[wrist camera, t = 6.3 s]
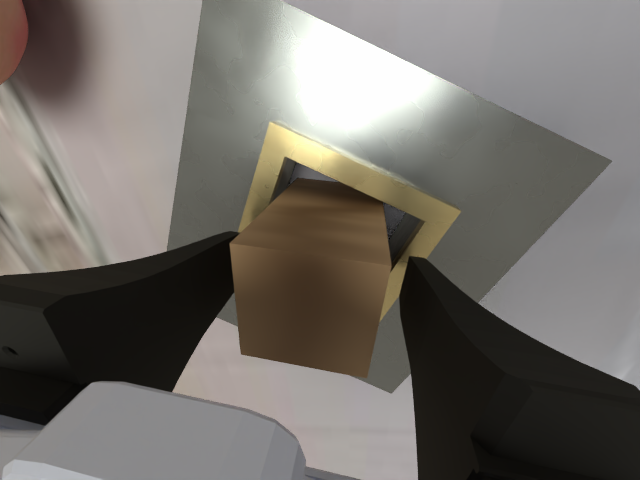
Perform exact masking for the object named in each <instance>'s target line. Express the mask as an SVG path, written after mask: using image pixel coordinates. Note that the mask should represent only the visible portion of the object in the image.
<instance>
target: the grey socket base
mask: <svg viewBox="0 0 640 480" xmlns="http://www.w3.org/2000/svg"><path fill="white" fill-rule="evenodd" d="M296 162H298V163H300V164H303V165H305V166H307V167H309V168H311V169H313V170H316V171H318V172H320V173H322V174H324V175H326V176H329V177H331V178H333V179H335V180H337V181H339V182H341V183H344V184H346V185H348V186H350V187H352V188H354V189H357V190H359V191H361V192H363V193H365V194H367V195H370V196H372V197H374V198H376V199H378V200H380V201H383V202H385V203H387V204H389V205H391V206H393V207H395V208H398V209H400V210H402V211H404V212H406V214H405V215H404V217H403V219H402V220H401V222H400V223H399V225H398V227H397V228H396V230H395V231H394V233H393V235H392V236H391V238H390V239H389V241H388V244H389V251H390V258H391V265H392V266H391V271H390V275H389V280H388V285H387V289H386V294H385V298H384V303H383V308H382V312H381V317H380V321H379V326H378V331H377V335H376V340H375V344H374V349H373V354H372V358H371V363H370V367H369V372H368V376H367V378H362V377H357V376H352V377H355V378H357V379H359V380H362V381H364V382H366V383H368V384H371V385H373V386H375V387H378V388H380V389H382V390H384V391H387V392H389V393H391V394H392V392H393V391H394V390H395V389H396V388H397V387H398V386H399V385H400V384H401V383H402V382H403V381H404V380H405V379H406V378H407V377H408V376H409V375H410V374H411V370H410V364H409V359H408V354H407V349H406V344H405V339H404V334H403V329H402V323H401V318H400V304H399V294H400V290H401V286H402V282H403V278H404V274H405V270H406V266H407V262H408V258H409V256H415V257H423V258H426V259H427V260H428V261H429V262H430V263H432V264H433V265H434V266H435V267H436V268H437V269H438V270H439V271H440V272H441V273H442V274H443V275H445V276H446V277H447V278H448V279H449V280H450V281H451V282H452V283H453V284H455V285H456V286H457V287H458V288H459V289H460V290H462V291H463V292H464V293H465V294H467V295H468V296H469V297H470V298H472V299H473V300H474V301H475V302H477V303H478V302H479V301H480V300H481V299H482V298H483V297H484V296H485V295H486V294H487V293H488V292H489V290H490V289H491V288H492V287H493V286H494V285H495V284H496V283H497V282H498V281H499V280H500V279H501V278H502V277H503V276H504V275H505V274H506V273H507V272H508V270H509V269H510V268H511V267H512V266H513V265H514V264H515V263H516V262H517V261H518V260H519V259H520V258H521V257H522V256H523V255H524V254H525V253H526V252H527V250H528V249H529V248H530V247H531V246H532V245H533V244H534V243H535V242H536V241H537V240H538V239H539V238H540V237H541V236H542V235H543V234H544V233H545V232H546V231H547V229H548V228H549V227H550V226H551V225H552V224H553V223H554V222H555V221H556V220H557V219H558V218H559V217H560V216H561V215H562V214H563V213H564V212H565V211H566V209H567V208H568V207H569V206H570V205H571V204H572V203H573V202H574V201H575V200H576V199H577V198H578V197H579V196H580V195H581V194H582V193H583V192H584V191H585V189H586V188H587V187H588V186H589V185H590V184H591V183H592V182H593V181H594V180H595V179H596V178H597V177H598V176H599V175H600V174H601V173H602V172H603V171H604V170H605V168H606V167H607V166H608V165H609V164H610V163H611V162H612V161H611V160H609V159H607V158H605V157H603V156H601V155H599V154H597V153H595V152H593V151H591V150H589V149H587V148H584V147H582V146H580V145H578V144H576V143H574V142H572V141H570V140H568V139H566V138H564V137H562V136H560V135H558V134H556V133H553V132H551V131H549V130H547V129H545V128H543V127H541V126H539V125H537V124H535V123H533V122H531V121H529V120H527V119H525V118H522V117H520V116H518V115H516V114H514V113H512V112H510V111H508V110H506V109H504V108H502V107H500V106H498V105H496V104H494V103H491V102H489V101H487V100H485V99H483V98H481V97H479V96H477V95H475V94H473V93H471V92H469V91H467V90H465V89H463V88H460V87H458V86H456V85H454V84H452V83H450V82H448V81H446V80H444V79H442V78H440V77H438V76H436V75H434V74H432V73H429V72H427V71H425V70H423V69H421V68H419V67H417V66H415V65H413V64H411V63H409V62H407V61H405V60H403V59H401V58H398V57H396V56H394V55H392V54H390V53H388V52H386V51H384V50H382V49H380V48H378V47H376V46H374V45H372V44H370V43H367V42H365V41H363V40H361V39H359V38H357V37H355V36H353V35H351V34H349V33H347V32H345V31H343V30H341V29H339V28H336V27H334V26H332V25H330V24H328V23H326V22H324V21H322V20H320V19H318V18H316V17H314V16H312V15H310V14H308V13H305V12H303V11H301V10H299V9H297V8H295V7H293V6H291V5H289V4H287V3H285V2H283V1H281V0H203V1H202V8H201V15H200V22H199V29H198V36H197V43H196V50H195V57H194V64H193V71H192V78H191V85H190V92H189V99H188V106H187V113H186V120H185V127H184V134H183V141H182V148H181V155H180V162H179V169H178V176H177V183H176V190H175V197H174V204H173V211H172V218H171V225H170V232H169V239H168V246H167V251H170V250H173V249H176V248H179V247H182V246H185V245H188V244H191V243H194V242H197V241H200V240H202V239H205V238H208V237H211V236H214V235H217V234H220V233H223V232H228V231H233V232H240V233H241V232H242V231H243V230H244V229H245V228H246V227H247V226H248V225H249V224H250V223H251V222H252V221H253V220H254V219H255V218H256V217H257V216H258V215H260V214H261V213H262V212H263V211H264V210H265V209H266V208H267V207H268V206H269V205H270V204H271V203H272V202H273V201H274V200H275V199H276V198H277V197H278V196H279V195H280V194H281V193H282V192H283V191H285V190H286V189H287V186H288V183H289V181H290V178H291V175H292V172H293V170H294V167H295V164H296ZM217 318H220V319H222V320H224V321H227V322H229V323H231V324H233V325H236V326H238V321H237V311H236V301H235V292H234V293H233V295H232V296H231V298H230V299H229V300H228V302H227V303H226V304H225V306H224V307H223V309H222V310H221V311H220V313H219V314H218V315H217ZM350 376H351V375H350Z"/></svg>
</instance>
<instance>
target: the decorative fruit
mask: <svg viewBox="0 0 640 480" xmlns="http://www.w3.org/2000/svg"><path fill="white" fill-rule="evenodd" d="M27 41H28V22H27V17H26V13H25V9H24V6H23V3H22V0H0V85H1V84H2V83H3V82H4V81H6V80H7V79H8V78H9V77H10V76H11V75H12V74H13V72H14V71H15V70H16V68H17V66H18V65H19V62H20V60H21V58H22V56H23V54H24V51H25V49H26V45H27Z"/></svg>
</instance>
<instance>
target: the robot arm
mask: <svg viewBox="0 0 640 480" xmlns="http://www.w3.org/2000/svg"><path fill="white" fill-rule="evenodd" d="M239 234H240V232H233V231H228V232H223V233H220V234H217V235H214V236H211V237H208V238H205V239H202V240H200V241H197V242H194V243H191V244H188V245H185V246H182V247H179V248H176V249H173V250H170V251H167V252H164V253H160V254H157V255H153V256H149V257H145V258H141V259H137V260H132V261H127V262H122V263H116V264H111V265H105V266H100V267H93V268H85V269H77V270H68V271H59V272H47V273H32V274H16V275H3V276H0V480H360V479H356V478H352V477H348V476H344V475H339V474H335V473H331V472H327V471H323V470H319V469H314V468H310V467H306V459H305V457H304V454H303V452H302V449H301V446H300V444H299V441H298V440H297V438H296V437H295V435H293V434H292V433H291V432H290V431H289V430H287V429H286V428H285V427H284V426H282V425H281V424H280V423H279V422H278V421H276V420H275V419H272V418H270V417H267V416H265V415H262V414H259V413H257V412H254V411H252V410H249V409H245V408H241V407H236V406H232V405H227V404H223V403H218V402H213V401H209V400H204V399H200V398H195V397H191V396H186V395H181V394H177V393H172V391H173V389H174V387H175V385H176V383H177V381H178V379H179V377H180V375H181V374H182V372H183V370H184V368H185V366H186V364H187V363H188V361H189V359H190V357H191V355H192V354H193V352H194V350H195V348H196V347H197V345H198V343H199V341H200V340H201V338H202V336H203V335H204V333H205V332H206V330H207V329H208V328H209V326H210V325H211V323H212V322H213V321H214V319H215V318H216V317H217V315H218V314H219V313H220V311H221V310H222V309H223V307H224V306H225V304H226V303H227V302H228V300H229V299H230V298H231V296H232V295H233V293H234V282H233V272H232V262H231V252H230V242H231V241H232V240H234V239H235V238H236V237H237V236H238V235H239ZM399 304H400V318H401V323H402V329H403V334H404V339H405V344H406V349H407V354H408V359H409V364H410V370H411V377H412V388H413V399H414V412H415V427H416V444H417V462H418V480H640V390H639V389H638V388H637V387H635V386H634V385H632V384H629V383H627V382H625V381H622V380H620V379H618V378H615V377H613V376H611V375H609V374H606V373H604V372H602V371H599V370H597V369H595V368H592V367H590V366H588V365H586V364H583V363H581V362H579V361H577V360H575V359H573V358H571V357H569V356H567V355H565V354H562V353H560V352H558V351H556V350H554V349H552V348H550V347H548V346H547V345H545V344H543V343H541V342H539V341H537V340H535V339H533V338H532V337H530V336H528V335H526V334H525V333H523V332H521V331H519V330H518V329H516V328H514V327H513V326H511V325H509V324H508V323H506V322H504V321H503V320H501V319H500V318H498V317H497V316H495V315H494V314H492V313H491V312H489V311H488V310H486V309H485V308H484V307H482V306H481V305H479V304H478V303H477V302H475V301H474V300H473V299H472V298H470V297H469V296H468V295H467V294H465V293H464V292H463V291H462V290H460V289H459V288H458V287H457V286H456V285H455V284H453V283H452V282H451V281H450V280H449V279H448V278H447V277H446V276H445V275H443V274H442V273H441V272H440V271H439V270H438V269H437V268H436V267H435V266H434V265H433V264H432V263H430V262H429V261H428V260H427V259H426V258H423V257H415V256H409V258H408V262H407V266H406V270H405V274H404V278H403V282H402V286H401V290H400V294H399Z"/></svg>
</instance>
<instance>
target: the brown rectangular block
mask: <svg viewBox="0 0 640 480" xmlns="http://www.w3.org/2000/svg"><path fill="white" fill-rule="evenodd" d="M230 252H231V262H232V272H233V282H234V292H235V301H236V311H237V321H238V331H239V341H240V350H241V354H242V355H247V356H252V357H258V358H263V359H268V360H273V361H278V362H284V363H289V364H294V365H299V366H304V367H310V368H315V369H320V370H325V371H331V372H336V373H341V374H346V375H351V376H357V377H362V378H367V376H368V372H369V367H370V363H371V358H372V354H373V349H374V344H375V340H376V335H377V331H378V326H379V321H380V317H381V312H382V308H383V303H384V298H385V294H386V289H387V285H388V280H389V275H390V271H391V266H392V265H391V258H390V251H389V244H388V236H387V229H386V222H385V215H384V207H383V201H380V200H378V199H376V198H374V197H372V196H370V195H367V194H365V193H363V192H361V191H359V190H357V189H354V188H352V187H350V186H348V185H346V184H344V183H341V182H331V181H322V180H312V179H303V178H297V179H296V180H295V181H294V182H293V183H292V184H291V185H290V186H289V187H288V188H287V189H286V190H285V191H283V192H282V193H281V194H280V195H279V196H278V197H277V198H276V199H275V200H274V201H273V202H272V203H271V204H270V205H269V206H268V207H267V208H266V209H265V210H264V211H263V212H262V213H261V214H260V215H258V216H257V217H256V218H255V219H254V220H253V221H252V222H251V223H250V224H249V225H248V226H247V227H246V228H245V229H244V230H243V231H242V232H241V233H240V234H239V235H238V236H237V237H236V238H235V239H234V240H232V241H231V242H230Z"/></svg>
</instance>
